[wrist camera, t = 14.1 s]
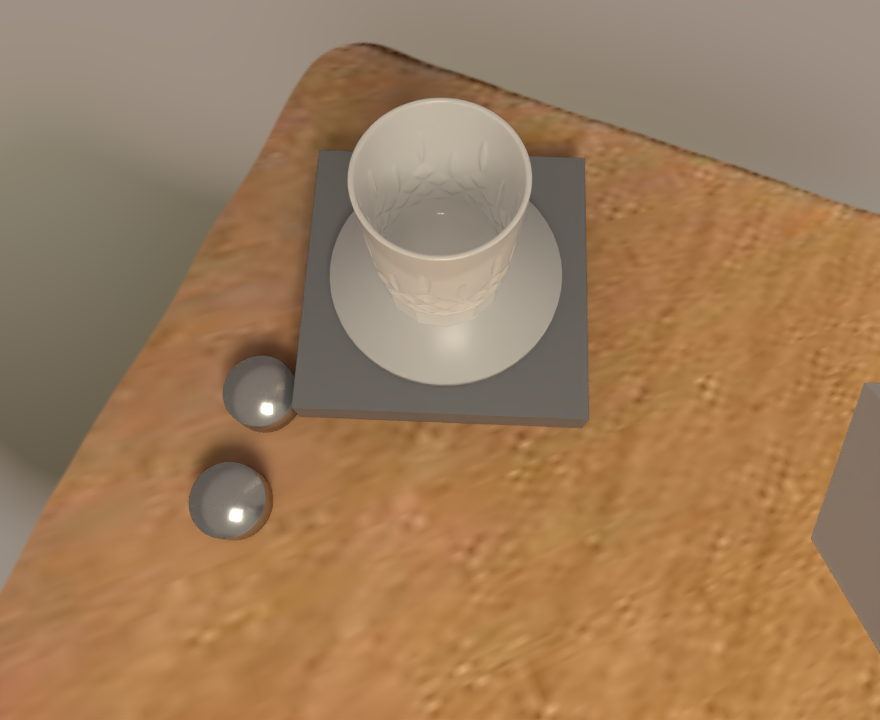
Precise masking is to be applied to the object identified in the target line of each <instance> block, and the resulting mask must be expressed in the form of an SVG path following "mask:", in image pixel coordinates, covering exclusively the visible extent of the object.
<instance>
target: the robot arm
mask: <svg viewBox="0 0 880 720" xmlns="http://www.w3.org/2000/svg"><path fill="white" fill-rule="evenodd" d="M811 539H812V541H813V543H814V544H815V546H816V548H817V549H818V551H819V553H820V554H821V556H822V558H823V559H824V561H825V563H826V564H827V566H828V568H829V569H830V571H831V573H832V574H833V576H834V578H835V579H836V581H837V583H838V584H839V586H840V588H841V589H842V591H843V593H844V594H845V596H846V598H847V599H848V601H849V603H850V604H851V606H852V608H853V609H854V611H855V613H856V614H857V616H858V618H859V619H860V621H861V623H862V625H863V626H864V628H865V630H866V631H867V633H868V635H869V636H870V638H871V640H872V641H873V643H874V645H875V646H876V648H877V650H878V651H879V653H880V383H864V385H863V388H862V391H861V394H860V397H859V399H858V402H857V405H856V408H855V411H854V414H853V417H852V420H851V423H850V426H849V429H848V432H847V434H846V437H845V440H844V443H843V446H842V449H841V452H840V455H839V458H838V461H837V464H836V467H835V469H834V472H833V475H832V478H831V481H830V484H829V487H828V490H827V493H826V496H825V499H824V502H823V504H822V507H821V510H820V513H819V516H818V519H817V522H816V525H815V528H814V531H813V534H812V537H811Z"/></svg>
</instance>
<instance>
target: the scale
mask: <svg viewBox="0 0 880 720" xmlns="http://www.w3.org/2000/svg"><path fill="white" fill-rule="evenodd" d="M352 154H353V151H332V150H319V158H318V168H317V177H316V186H315V195H314V205H313V214H312V223H311V232H310V242H309V251H308V260H307V270H306V279H305V288H304V297H303V307H302V316H301V325H300V334H299V344H298V353H297V362H296V372H295V381H294V390H293V399H292V409H293V410H294V411H295V412H296V413H297V414H298V415H299V416H301V417H325V418H350V419H375V420H399V421H424V422H448V423H473V424H498V425H522V426H547V427H571V428H582V427H583V426H584V425H585V424H586V422H587V421H588V420H589V394H588V330H587V267H586V203H585V158H568V157H535V156H529V159H530V163H531V169H532V188H531V194H530V198H529V201H528V205H527V208H526V211H525V215H524V218H523V222H522V225H521V228H520V232H519V236H518V239H517V243H516V246H515V249H514V252H513V255H512V258H511V261H510V263H509V266H508V269H507V272H506V274H505V276H504V277H503V280H502V283H501V285H500V287H499V290H498V292H497V294H496V297H495V299H494V301H493V303H492V304H491V305H490V306H488V307H487V308H486V309H485V310H484V311H483V312H481V313H480V314H479V315H478V316H477V317H475V318H474V319H473V320H471V321H467V322H464V323H460V324H456V325H453V326H449V327H441V326H434V325H428V324H422V323H418V322H416V321H415V320H413V319H412V318H410V317H409V316H407V315H406V314H405V313H403V312H402V311H400V310H399V309H397V308H396V307H395V305H394V303H393V301H392V300H391V298H390V296H389V294H388V292H387V291H386V289H385V287H384V285H383V283H382V281H381V279H380V277H379V275H378V273H377V270H376V268H375V265H374V263H373V260H372V258H371V256H370V253H369V251H368V248H367V246H366V243H365V240H364V237H363V234H362V231H361V228H360V226H359V223H358V220H357V217H356V215H355V212H354V209H353V207H352V204H351V201H350V197H349V192H348V168H349V163H350V159H351V156H352Z"/></svg>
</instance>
